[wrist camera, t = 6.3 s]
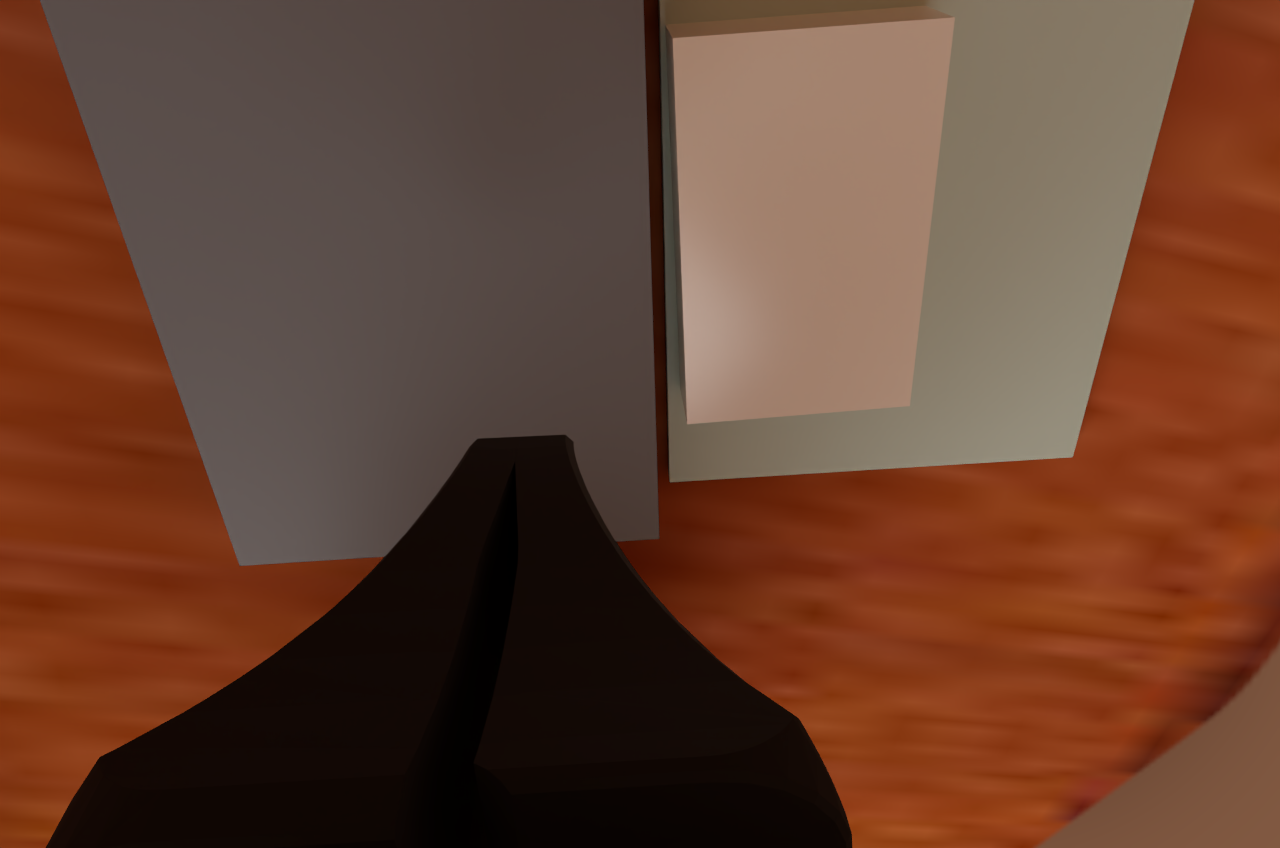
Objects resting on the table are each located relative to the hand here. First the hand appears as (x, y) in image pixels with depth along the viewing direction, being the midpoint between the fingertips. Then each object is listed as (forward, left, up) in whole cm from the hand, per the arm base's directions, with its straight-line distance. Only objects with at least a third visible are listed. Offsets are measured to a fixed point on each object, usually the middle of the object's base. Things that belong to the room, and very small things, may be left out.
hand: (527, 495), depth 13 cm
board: (+1, +3, -9) cm, 9 cm away
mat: (+1, -8, -9) cm, 12 cm away
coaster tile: (+1, -5, -8) cm, 10 cm away
